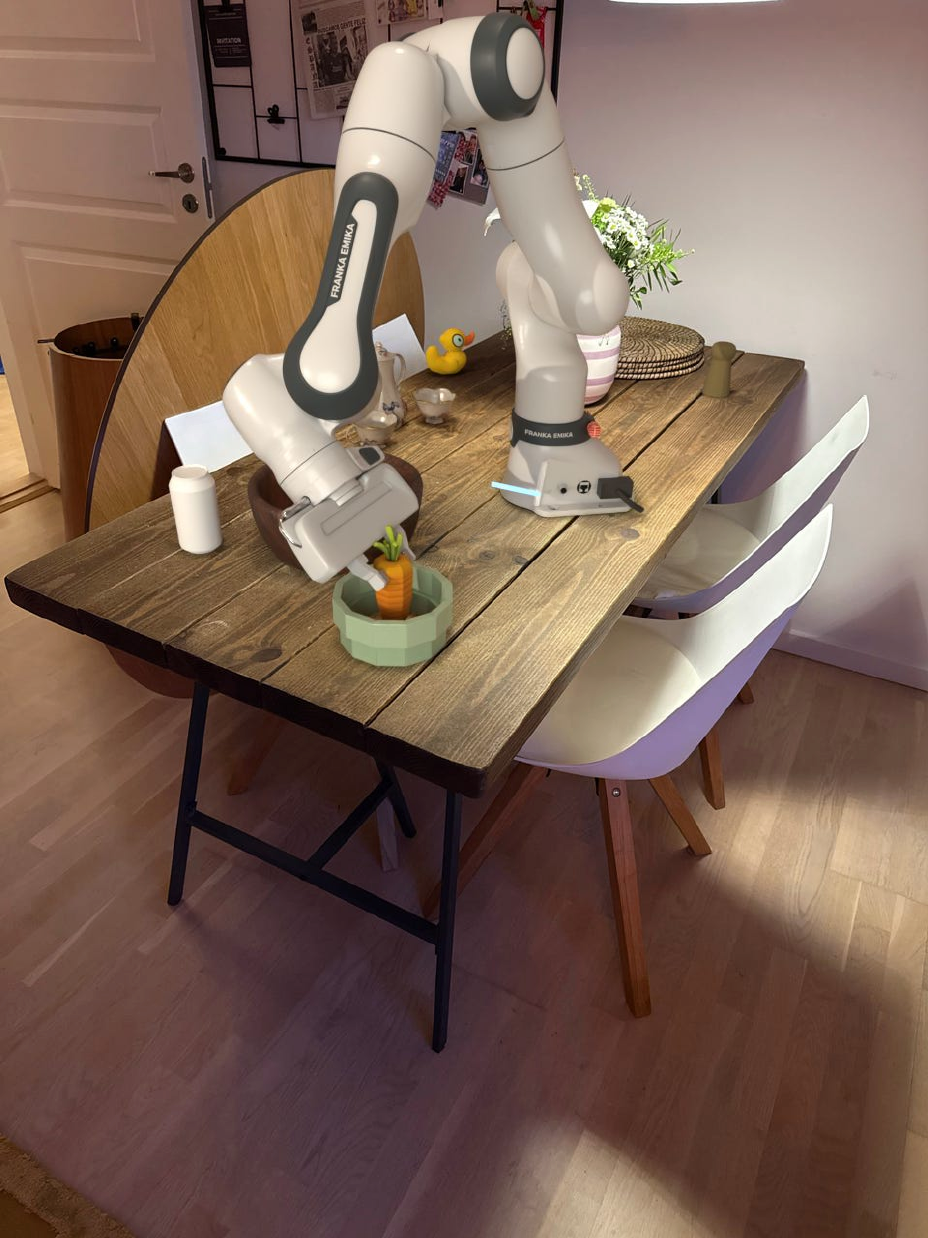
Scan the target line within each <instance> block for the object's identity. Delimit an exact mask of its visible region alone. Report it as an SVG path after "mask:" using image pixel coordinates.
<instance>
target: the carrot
mask: <svg viewBox="0 0 928 1238" xmlns="http://www.w3.org/2000/svg"><path fill="white" fill-rule="evenodd" d="M385 529H386V532H387V535H388V538H389V541H390V543H389V541H388V540H384V541H383V543H384V545H385V546H384V545H383V544H382V543H379V542H374V543H373V546H374V547H376V548H379V549H380V550H382V551H383V552H384V554H382V555H381V556H379V557H378V558H376V559H375V560H374V562H373V568H374V569H376V570H377V571H380V570H382V569H383V570H384V571H385V573H386V575H387V576H389V578H390V582H389V583H388V584H387V585H386V586H385V587H384V588H382V589H381V590H379V591H376V590H375V594H376V598H377V603H378V608H379V612H380V613H379V615H380V620H407V619H408V617H409V613H410V612H409V609H410V604H411V598H412V584H413V568H412V564H411V561H410V558H409V557H408V556H406V555H403V554H401V553H399V552H400V549H401V546H402V541H403V535H402V534H401V533H398V537H397V541H396V537H395V533H394V530H393V527H392V526H389V525H388V526H386V527H385Z"/></svg>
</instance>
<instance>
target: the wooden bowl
mask: <svg viewBox="0 0 928 1238" xmlns="http://www.w3.org/2000/svg"><path fill="white" fill-rule="evenodd" d="M344 447H345V448H346V447H347V446H344ZM382 452H383V454H384V456H385V458H384V460H383V461H382V462H381V463H387V464H389V465H391V466H392V467H393V468H394V469H395V470H396V471H397V472H398V473H399V474H400V476H401V477H402V478H403V479H404V480H405V482H406V483H407V484H408V486H409V487H410V488H411V490H412V491H413V492H414V494H415V495H416V497H417V500H418V505H419V509H418V510H417V511H415V512H414V513H413V514H412V515H410V516H409V517H408V518H407V519H405V520H404V521H403V522H402V523H400V524H399V525H400V526H401V527H402V528H403V530H404V531H405V533H406V537H407V541H408V544H410V541H411V539H412V537H413V536H414V533H415V531H416V528H417V526H418V522H419V519H420V513H421V507H422V501H423V494H424V481H423V477H422V475H421V473H420V471H419V470H418V469H417V468H416V467H415V466H414V465H413V464H411V463H410V462H409V461H407V460H405V459H403V458H401V457H400V456H396V455H393V454H391V453H388V452H384V451H382ZM246 491H247V492H246V493H247V497H248V502H249V506H250V509H251V513H252V516H253V519H254V523H255V526H256V528H257V530H258V532H259V534H260V536H261V539H262V540H263V542H264V544H265V545H266V546H267V547H268V549H269V550H270V551H271V552H272V554H274V556H275V557H276V558H278V559H279V560H280V561H281V562H283V563H284V564H286V565H288V566H291V567H293V568H294V569H296V570H300V571H303V572H306V571H305V570H304V568H303V567H302V565H301V564H300V562H299V561H298V559H297V557H296V556H295V554H294V552H293V551H292V549H291V547H290V545H289V543H288V541H287V539H286V538H285V537H284V535H283V534H282V533H281V531H280V529H279V519H280V514H281V512H282V511H283V510H285V509H286V508H289V507H291V506H292V505H293V504H294V503H293V501H292V500H291V499H290V497H289V496H288V495H287V494H286V492H285V491H284V490H283V489H282V488H281V486H280V485H279V484H278V482H277V480H276V477H275V475H274V473H273V471H272V470H271V468H270V467H269V466H268V465H267V464H266V463H264V464H263V465H261V466H260V467H259V468H258V469H256V470H255V471H254V472H253V473H252V474H251V476H250V478H249V480H248V481H247V488H246ZM296 514H297V513H296ZM285 521H286V520H283V522H285ZM384 540H386V539H385V538H384V537H383V538H381V539H380V540H379V541H377V542H379V543H382V544H383V545H384V543H383V541H384ZM384 546H385V545H384ZM363 554H364V555H365V556H366V558H367V559H368V562H367V564H368V565H370V564H373V562H374V560H375V559H376V558H378V557H379V556H381V555H382V554H384V552H383V551H382V550H380V549H379V548H376V547H374V546H373V545H372V546H371V547H370V548H369V549H367V550H366V551H365V552H364V553H363ZM349 572H350V570H349V569H348V568H347V566H346V567H345V568H343V569H342V570H341V571H340V572H338V573H337V574H336V575H335V576H337V575H338V576H339V575H346V574H348V573H349Z"/></svg>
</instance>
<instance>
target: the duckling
mask: <svg viewBox="0 0 928 1238" xmlns="http://www.w3.org/2000/svg"><path fill="white" fill-rule="evenodd" d="M475 337H476V335H475V332H474V331H471V332H470V333H469V334H468V335H466V334H465V332H464V331H463V330H462V329H460V328H458V327H450V328H448V329H446V330H444V332H442V334H440V336H439V342H440V344H441V346H442V347H443V349H444V350H445V351H446V352H445V353H443V354H440V353H439V350H438V348H437V346H436V345H430V346H429V347H427V349H426V352H425V362H426V365H427V367H428V369H430V371H432V372H434V373H436V374H439V375H455V374H458V373H459V372H460V371H461V370H462V369H463V368H464V367H465V365H466V363H467V355H466V353H465V352H464V351H463V348H464V347H468V346H470V345H471V344H473V342H474V340H475Z"/></svg>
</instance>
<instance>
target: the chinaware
mask: <svg viewBox="0 0 928 1238" xmlns="http://www.w3.org/2000/svg"><path fill="white" fill-rule="evenodd" d="M374 347H375V351H376V355H377V361H378V366H379V369H380V372H381V377H382V392H381V396H380V399H379V401H378V403H377V405H376V407H375V408H374V409H373V411H372V412H371V413H370V414H369V415H368V416H366V417H365V418H363V419H361V420H360V421H357V422H355V423H352V424H351V425H352V426H350V427H349V428H347V430H346V431H345V438H346V440H347V442H348V443H349V444H356V443H358V442H360V443H359V445H360V447H361V446H371V445H375V446H378V447H379V448H380V449H381V450H382V449H384V448H386V445H385V443H387V442H388V441H389V440H390V439H391V437H392V436H393V434H394V432H395V431H397V430H399V429H401V428H402V427H403V423H402V422H403V420H404V419H405V417H406V415H407V414H408V412H409V406H408V404H407V403H406V401H405V400H404V398H403V397H402V395H401V393H402V390H403V388H402V386H401V385H400V384H401V383H402V382H403V380H404V378H405V375H406V360H405V358H404V356H403V355H402V354H401V353H399V352H398V353H397V352H391V351H388V349H386V348H385V347H384V346H383V344H382V343H381V341H380V340H377V341H376V342H375V343H374ZM396 358H398V359H399V361H400V374H399V377H398V379H397V381H396V380H395V374H394V373H395V369H394V366H395V362H396V361H395V359H396ZM411 397H412V398H413V399H414V400H415V404H416V407H417V409H418V411H419V413H420V414H421V415H422V416H423V417H425V423H428V424H433V425H438V424H441V423H443V418H445V417H446V416H447V415H448V414H449V413H450V411H451V409H452V406H453V403H454V401H455V400H456V399H457V398H458V394H457V393H453V392H452V391H450V390H449V389H448V388H446V387H439V388H436V389H432V388H430V387H422V388H420V389H418V390H417V392H413V393H412V394H411ZM351 430H352V431H356V434H357V436H358V438H359V439H356V440H355V441H351V440H350V439H349V432H350V431H351Z"/></svg>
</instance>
